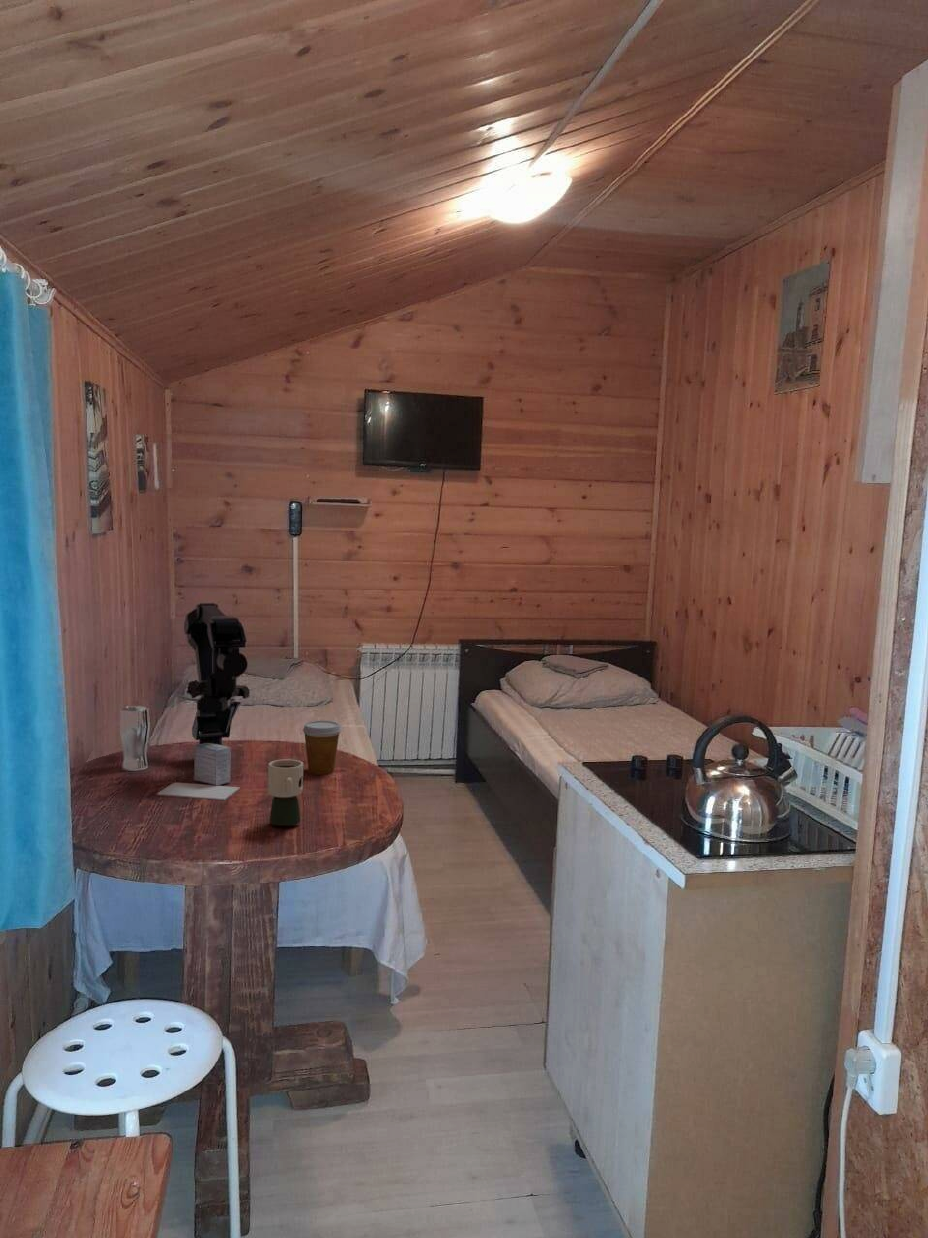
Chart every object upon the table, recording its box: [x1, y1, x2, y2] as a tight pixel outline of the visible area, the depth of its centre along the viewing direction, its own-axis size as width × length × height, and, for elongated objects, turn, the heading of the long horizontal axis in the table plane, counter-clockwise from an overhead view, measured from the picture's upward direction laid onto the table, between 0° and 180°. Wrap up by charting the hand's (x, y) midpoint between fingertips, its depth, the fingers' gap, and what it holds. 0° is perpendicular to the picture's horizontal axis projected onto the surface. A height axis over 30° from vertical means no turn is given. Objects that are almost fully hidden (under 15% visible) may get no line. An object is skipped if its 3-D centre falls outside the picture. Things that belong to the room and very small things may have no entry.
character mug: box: [267, 758, 304, 828], centre depth 189 cm, size 11×7×13 cm, turn 20°
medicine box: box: [193, 743, 232, 786], centre depth 216 cm, size 8×4×9 cm, turn 57°
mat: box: [156, 781, 240, 801], centre depth 209 cm, size 9×16×1 cm, turn 82°
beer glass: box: [119, 705, 151, 772], centre depth 226 cm, size 7×7×15 cm
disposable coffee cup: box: [302, 720, 342, 775], centre depth 229 cm, size 10×10×12 cm
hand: (223, 732), depth 223 cm, fingers closed
